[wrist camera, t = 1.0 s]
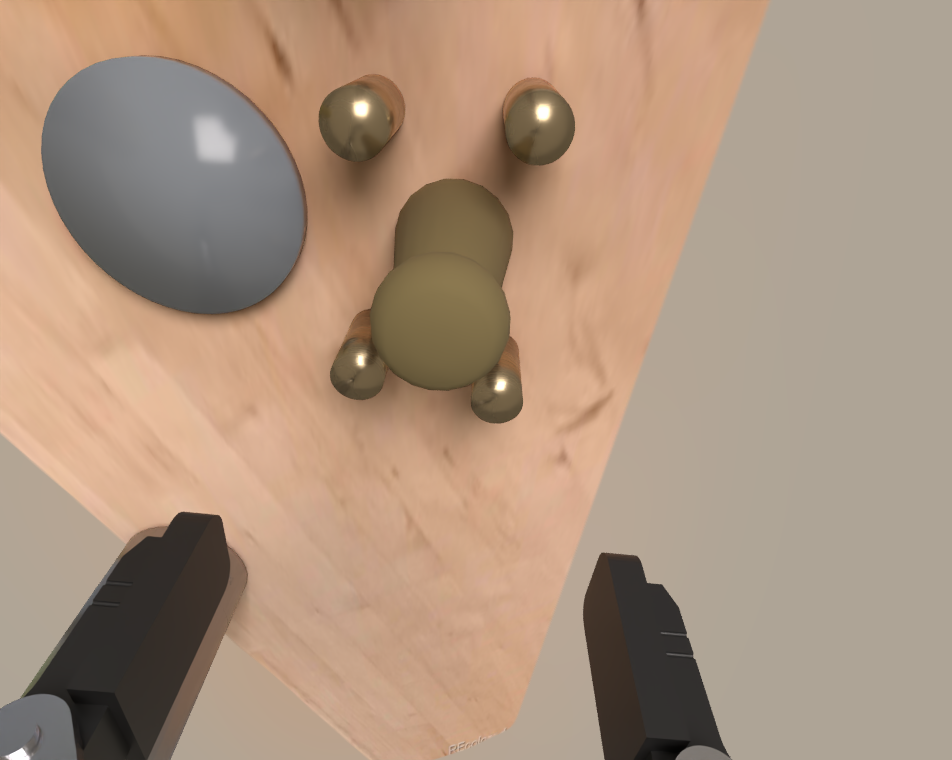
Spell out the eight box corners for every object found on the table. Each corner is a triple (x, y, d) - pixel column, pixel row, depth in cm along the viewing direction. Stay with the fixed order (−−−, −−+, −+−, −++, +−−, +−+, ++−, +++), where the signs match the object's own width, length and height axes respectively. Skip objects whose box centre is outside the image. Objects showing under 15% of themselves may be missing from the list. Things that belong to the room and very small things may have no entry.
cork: (531, 266, 29) (550, 381, 20) (430, 310, 31) (404, 436, 21) (482, 156, 26) (477, 232, 17) (372, 211, 28) (314, 308, 18)
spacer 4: (525, 153, 26) (532, 179, 22) (491, 105, 25) (491, 123, 21) (571, 115, 25) (588, 135, 21) (538, 63, 24) (548, 74, 20)
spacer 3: (492, 378, 33) (492, 431, 29) (464, 349, 32) (460, 399, 28) (527, 355, 32) (533, 406, 28) (500, 323, 31) (501, 372, 27)
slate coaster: (211, 344, 32) (204, 352, 31) (9, 175, 27) (-7, 181, 26) (357, 214, 28) (352, 221, 27) (148, -14, 23) (134, -15, 22)
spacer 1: (375, 150, 26) (354, 175, 22) (335, 102, 25) (304, 119, 21) (416, 112, 25) (402, 131, 21) (376, 60, 24) (352, 69, 20)
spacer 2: (374, 357, 32) (357, 408, 28) (341, 326, 31) (319, 374, 27) (407, 333, 31) (394, 382, 27) (374, 300, 30) (356, 345, 26)
